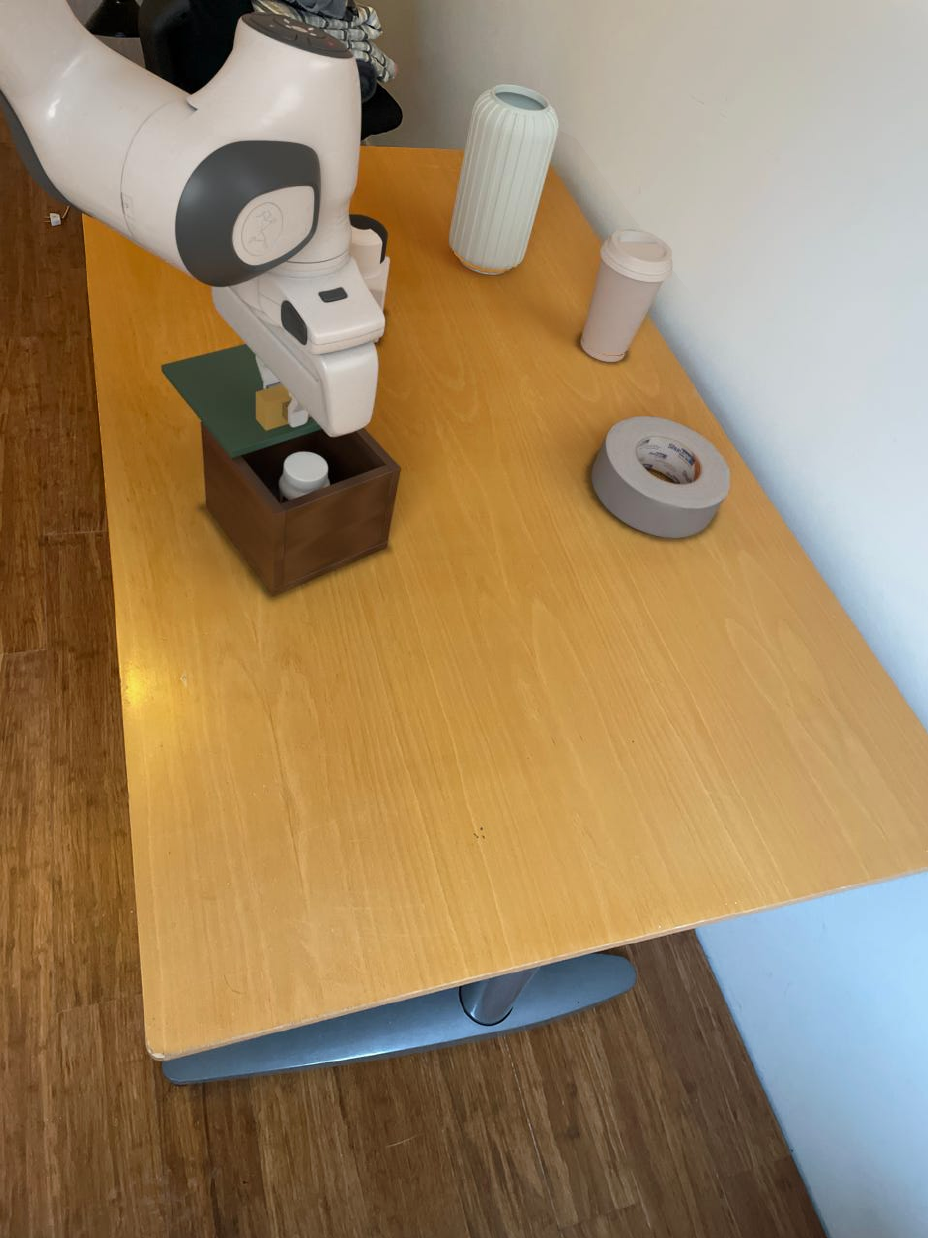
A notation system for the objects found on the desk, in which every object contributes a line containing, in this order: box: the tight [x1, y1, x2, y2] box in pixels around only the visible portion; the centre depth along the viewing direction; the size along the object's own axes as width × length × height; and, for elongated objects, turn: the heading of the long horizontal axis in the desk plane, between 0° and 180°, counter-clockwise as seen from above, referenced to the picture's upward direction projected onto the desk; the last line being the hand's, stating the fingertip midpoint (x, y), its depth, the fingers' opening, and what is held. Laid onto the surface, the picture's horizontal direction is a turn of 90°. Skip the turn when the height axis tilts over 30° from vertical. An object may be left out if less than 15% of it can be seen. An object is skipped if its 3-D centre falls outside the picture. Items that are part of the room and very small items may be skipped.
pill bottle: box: [278, 452, 330, 504], centre depth 78 cm, size 5×5×8 cm
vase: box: [448, 83, 560, 276], centre depth 113 cm, size 12×12×22 cm
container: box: [349, 213, 391, 344], centre depth 100 cm, size 8×8×13 cm
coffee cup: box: [580, 227, 673, 363], centre depth 108 cm, size 10×10×15 cm
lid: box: [160, 343, 322, 458], centre depth 75 cm, size 13×13×4 cm
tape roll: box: [590, 415, 731, 539], centre depth 95 cm, size 15×15×5 cm
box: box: [200, 420, 402, 597], centre depth 78 cm, size 13×13×11 cm
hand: (285, 410), depth 73 cm, fingers closed on lid, 2 cm apart
